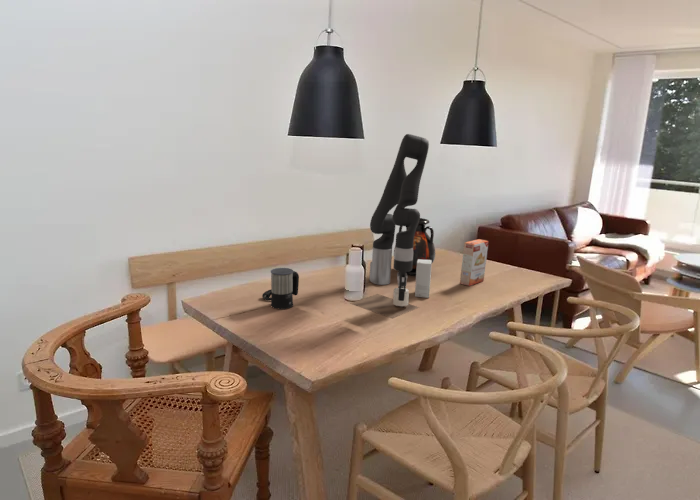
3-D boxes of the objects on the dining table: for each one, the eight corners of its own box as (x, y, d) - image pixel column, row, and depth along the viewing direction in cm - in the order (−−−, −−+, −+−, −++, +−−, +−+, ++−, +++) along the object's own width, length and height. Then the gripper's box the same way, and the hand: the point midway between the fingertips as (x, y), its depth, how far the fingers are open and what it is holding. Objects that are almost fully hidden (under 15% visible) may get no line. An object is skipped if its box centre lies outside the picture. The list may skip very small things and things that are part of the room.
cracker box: (470, 286, 228) (474, 244, 223) (459, 283, 232) (463, 242, 227) (484, 281, 238) (489, 240, 233) (474, 278, 242) (478, 238, 237)
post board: (349, 306, 195) (350, 289, 193) (377, 297, 208) (378, 280, 206) (392, 322, 181) (393, 303, 179) (419, 310, 194) (420, 293, 192)
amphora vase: (385, 273, 245) (388, 219, 239) (403, 264, 263) (406, 214, 257) (423, 280, 235) (428, 225, 228) (440, 271, 252) (444, 219, 246)
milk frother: (287, 311, 188) (287, 275, 184) (251, 305, 192) (251, 270, 188) (301, 299, 201) (301, 266, 197) (267, 295, 205) (267, 261, 202)
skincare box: (428, 298, 209) (431, 264, 206) (413, 296, 210) (416, 262, 207) (429, 292, 217) (432, 259, 214) (415, 291, 218) (417, 258, 215)
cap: (390, 303, 193) (390, 289, 192) (399, 301, 197) (399, 287, 196) (402, 306, 189) (402, 292, 188) (411, 303, 193) (411, 289, 192)
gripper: (414, 263, 182) (411, 303, 186) (411, 254, 196) (409, 292, 199) (394, 262, 182) (391, 302, 186) (393, 253, 196) (391, 291, 200)
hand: (400, 297), depth 193 cm, fingers open, 7 cm apart
